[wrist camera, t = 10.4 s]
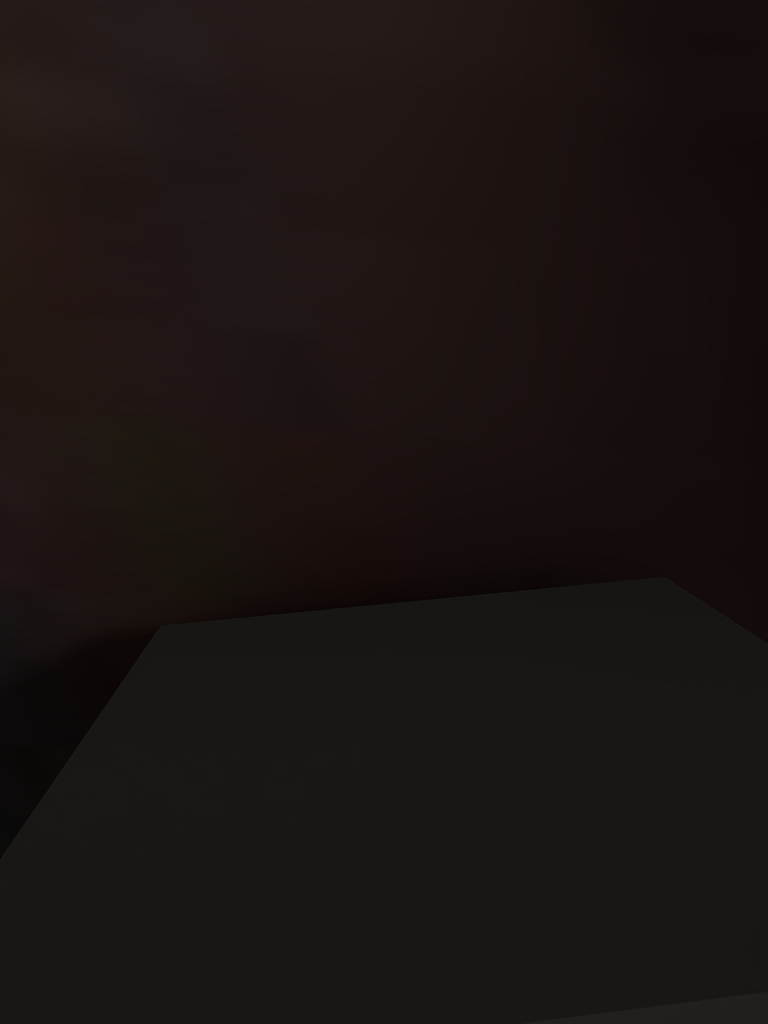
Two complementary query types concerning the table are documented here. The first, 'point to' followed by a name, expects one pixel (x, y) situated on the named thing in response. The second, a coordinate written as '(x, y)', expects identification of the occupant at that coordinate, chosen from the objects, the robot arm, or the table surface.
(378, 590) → the table surface
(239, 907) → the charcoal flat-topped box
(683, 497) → the table surface
